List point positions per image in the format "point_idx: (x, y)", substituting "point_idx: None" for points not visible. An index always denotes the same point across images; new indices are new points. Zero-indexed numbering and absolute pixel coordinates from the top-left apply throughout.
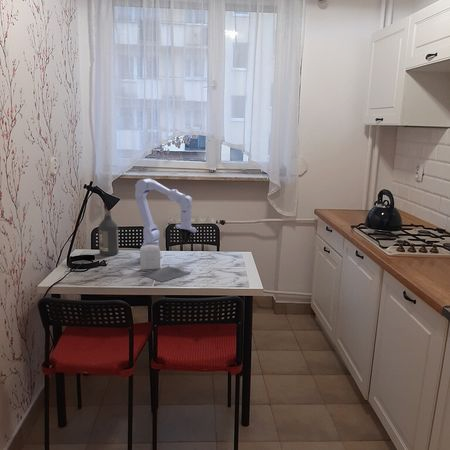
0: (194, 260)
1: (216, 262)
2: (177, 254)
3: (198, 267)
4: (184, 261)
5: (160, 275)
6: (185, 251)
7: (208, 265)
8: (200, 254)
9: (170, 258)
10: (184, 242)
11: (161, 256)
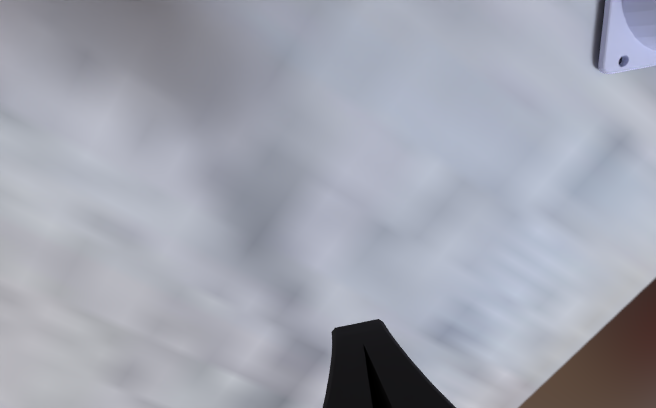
0: (298, 286)
1: (141, 401)
2: (554, 251)
3: (56, 206)
4: (326, 194)
5: None
6: (567, 343)
7: (83, 313)
8: None
9: (504, 128)
10: (352, 334)
11: (609, 61)
